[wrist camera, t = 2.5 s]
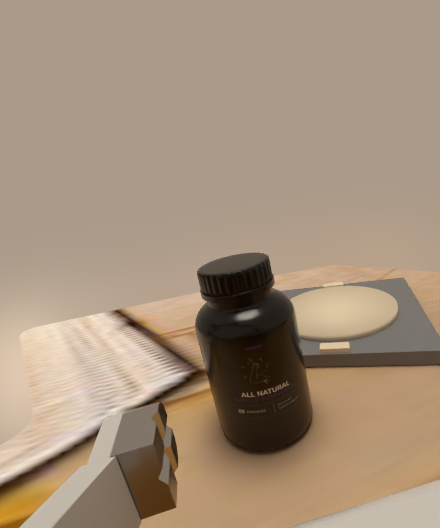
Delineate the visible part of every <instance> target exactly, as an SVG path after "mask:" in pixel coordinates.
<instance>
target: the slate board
mask: <svg viewBox="0 0 440 528" xmlns="http://www.w3.org/2000/svg"><path fill="white" fill-rule="evenodd" d="M281 292H282V293H284V294H285V295H286V296H287V297H288V298H289V299H290V300H291V302H292V304H293V306H294V310H295V314H296V319H297V325H298V331H299V336H300V342H301V347H302V353H303V358H304V364H305V367H342V366H390V365H439V364H440V337H439V335H438V334H437V332H436V330H435V329H434V327H433V325H432V324H431V322H430V320H429V319H428V317H427V315H426V314H425V312H424V310H423V309H422V307H421V305H420V304H419V302H418V300H417V299H416V297H415V295H414V294H413V292H412V290H411V289H410V287H409V286H408V284H407V282H406V281H405V279H404V278H396V279H387V280H378V281H368V282H359V283H350V284H343V282H337V283H328V284H323V287H313V288H304V289H295V290H286V291H281Z"/></svg>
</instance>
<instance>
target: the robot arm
mask: <svg viewBox="0 0 440 528" xmlns="http://www.w3.org/2000/svg"><path fill="white" fill-rule="evenodd" d="M166 422H167V414H166V411H165V408H164V406H163V404H162V403H161V402H158V403H155V404H151V405H147V406H144V407H140V408H136V409H133V410H129V411H125V412H121V413H118V414H115V415H111V416H108V417H106V418H105V419H104V420H103V423H102V425H101V428H100V431H99V433H98V436H97V439H96V441H95V444H94V447H93V449H92V452H91V455H90V457H89V460H88V462H87V465H84V466H81V467H80V468H79V469H78V470H77V471H76V472H75V473H74V474H73V475H72V476H71V477H70V478H69V479H68V480H67V481H66V482H65V483H64V484H63V485H62V486H61V487H60V488H59V489H58V490H57V491H56V492H55V493H54V494H53V495H52V496H51V497H50V498H49V499H48V500H47V501H46V502H45V503H44V504H43V505H42V506H41V507H40V508H39V509H38V510H37V511H36V512H35V513H34V514H33V515H32V516H31V517H30V518H29V519H28V520H27V521H26V522H25V523H24V524H23V525H22V526H21V527H20V528H139V526H140V524H141V520H142V519H145V518H147V517H150V516H153V515H156V514H159V513H162V512H165V511H168V510H171V509H174V508H176V503H177V480H176V477H175V474H174V472H175V471H176V469H177V468H178V454H177V446H176V441H175V437H174V434H173V431H172V429H171V428H170V427H168V426H167V425H166ZM289 528H440V479H439V480H436V481H433V482H430V483H427V484H423V485H420V486H417V487H414V488H411V489H408V490H405V491H402V492H398V493H395V494H392V495H389V496H386V497H383V498H380V499H376V500H373V501H370V502H367V503H364V504H361V505H358V506H355V507H351V508H348V509H345V510H342V511H339V512H336V513H333V514H330V515H326V516H323V517H320V518H317V519H314V520H311V521H307V522H304V523H301V524H298V525H295V526H292V527H289Z"/></svg>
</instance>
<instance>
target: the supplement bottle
mask: <svg viewBox="0 0 440 528" xmlns="http://www.w3.org/2000/svg"><path fill="white" fill-rule="evenodd" d="M197 275H198V279H199V284H200V287H201V290H200V292H201V296H202V298H203V300H205V301H207V303H205V304H204V306H203V307H202V308H201V309H200V311H199V312H198V315H197V318H196V322H195V328H196V334H197V338H198V341H199V345H200V349H201V353H202V357H203V361H204V364H205V368H206V372H207V376H208V380H209V383H210V387H211V391H212V395H213V399H214V402H215V406H216V410H217V414H218V417H219V421H220V424H221V427H222V429H223V431H224V433H225V434H226V435H227V437H228V438H229V439H231V440H232V441H233V442H234V443H236V444H238V445H240V446H242V447H244V448H247V449H252V450H272V449H277V448H280V447H283V446H286V445H288V444H290V443H291V442H293V441H295V440H296V439H297V438H299V437H300V436H301V435H302V434H303V432H304V431H305V430H306V428H307V427H308V425H309V423H310V420H311V416H312V404H311V398H310V392H309V386H308V381H307V375H306V370H305V364H304V358H303V353H302V347H301V342H300V336H299V331H298V325H297V319H296V314H295V310H294V306H293V304H292V302H291V300H290V299H289V298H288V297H287V296H286V295H285V294H284V293H282V292H281V291H279V290H276V289H274V288H272V287H273V285H274V283H275V281H274V276H273V274H272V272H271V266H270V261H269V257H268V256H267V255H266V254H264V253H244V254H237V255H232V256H228V257H224V258H220V259H217V260H214V261H212V262H209V263H207V264H205V265H204V266H202V267H201V268H199V270H198V271H197Z"/></svg>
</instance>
